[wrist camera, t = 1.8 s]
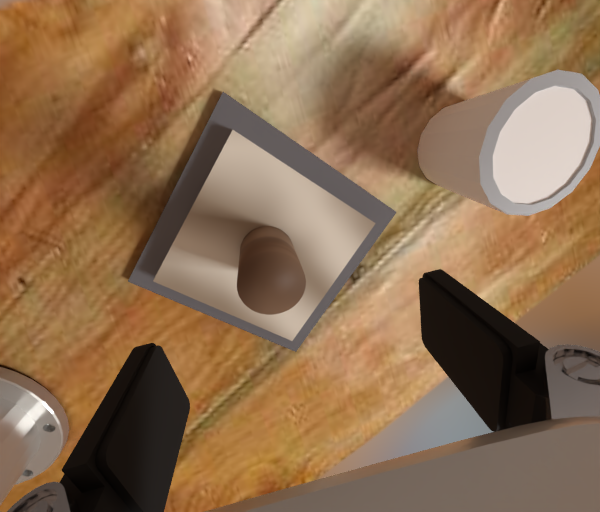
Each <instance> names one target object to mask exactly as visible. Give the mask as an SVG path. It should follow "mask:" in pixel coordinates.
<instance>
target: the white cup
mask: <svg viewBox="0 0 600 512" xmlns="http://www.w3.org/2000/svg"><path fill="white" fill-rule="evenodd" d="M599 146H600V95H599V92H598V89H597V88H596V87H595V86H594V85H593V84H591V83H590V82H589V81H588V80H587V79H586V78H585V77H584V76H583V75H582V74H579V73H574V72H568V71H562V70H556V71H553V72H550V73H547V74H544V75H541V76H538V77H535V78H532V79H529V80H526V81H523V82H520V83H517V84H514V85H511V86H508V87H505V88H502V89H499V90H496V91H493V92H490V93H487V94H484V95H481V96H478V97H475V98H472V99H469V100H466V101H463V102H460V103H457V104H454V105H451V106H448V107H445V108H443V109H441V110H440V111H439V112H438V113H437V114H436V115H434V116H433V117H432V118H431V119H430V120H429V122H428V124H427V125H426V127H425V129H424V130H423V132H422V134H421V137H420V141H419V146H418V150H417V153H418V161H419V167H420V169H421V170H422V172H423V174H424V175H425V177H426V179H428V180H430V181H431V182H433V183H434V184H436V185H438V186H440V187H443V188H445V189H448V190H450V191H452V192H455V193H457V194H460V195H462V196H464V197H467V198H469V199H472V200H474V201H476V202H479V203H481V204H484V205H486V206H488V207H491V208H493V209H496V210H498V211H501V212H503V213H505V214H510V215H526V216H529V215H532V214H534V213H537V212H540V211H543V210H546V209H549V208H551V207H552V206H554V205H555V204H556V203H558V202H559V201H560V200H562V199H563V198H564V197H566V196H567V195H568V194H570V193H571V192H572V191H573V190H574V189H575V187H576V186H577V185H578V183H579V182H580V181H581V179H582V178H583V177H584V176H585V174H586V173H587V172H588V170H589V169H590V167H591V165H592V163H593V160H594V158H595V156H596V153H597V151H598V149H599Z"/></svg>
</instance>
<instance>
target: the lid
mask: <svg viewBox="0 0 600 512" xmlns="http://www.w3.org/2000/svg"><path fill="white" fill-rule="evenodd" d="M375 224H376V223H374V222H373V221H371V220H370V219H368V218H367V217H365V216H364V215H362V214H361V213H359V212H358V211H356V210H354V209H353V208H351V207H350V206H348V205H347V204H345V203H344V202H342V201H341V200H339V199H338V198H336V197H335V196H333V195H332V194H330V193H329V192H327V191H326V190H324V189H322V188H321V187H319V186H318V185H316V184H315V183H313V182H312V181H310V180H309V179H307V178H306V177H304V176H303V175H301V174H300V173H298V172H297V171H295V170H294V169H292V168H291V167H289V166H287V165H286V164H284V163H283V162H281V161H280V160H278V159H277V158H275V157H274V156H272V155H271V154H269V153H268V152H266V151H265V150H263V149H262V148H260V147H259V146H257V145H255V144H254V143H252V142H251V141H249V140H248V139H246V138H245V137H243V136H242V135H240V134H239V133H237V132H236V131H234V130H232V132H231V134H230V136H229V138H228V140H227V141H226V143H225V145H224V147H223V149H222V151H221V153H220V155H219V157H218V159H217V160H216V162H215V164H214V166H213V168H212V170H211V172H210V174H209V176H208V178H207V179H206V181H205V183H204V185H203V187H202V189H201V191H200V193H199V195H198V197H197V198H196V200H195V202H194V204H193V206H192V208H191V210H190V212H189V214H188V216H187V217H186V219H185V221H184V223H183V225H182V227H181V229H180V231H179V233H178V235H177V236H176V238H175V240H174V242H173V244H172V246H171V248H170V250H169V252H168V254H167V255H166V257H165V259H164V261H163V263H162V265H161V267H160V269H159V271H158V273H157V274H156V276H155V278H154V280H153V281H154V282H156V283H158V284H161V285H163V286H165V287H168V288H170V289H172V290H175V291H177V292H179V293H182V294H184V295H186V296H188V297H191V298H193V299H195V300H198V301H200V302H202V303H205V304H207V305H209V306H212V307H214V308H216V309H219V310H221V311H223V312H226V313H228V314H230V315H233V316H235V317H237V318H240V319H242V320H244V321H247V322H249V323H251V324H254V325H256V326H258V327H261V328H263V329H265V330H268V331H270V332H272V333H274V334H277V335H279V336H281V337H284V338H286V339H288V340H291V341H293V339H294V338H295V337H296V335H297V334H298V332H299V331H300V330H301V328H302V327H303V325H304V324H305V322H306V321H307V320H308V318H309V317H310V315H311V314H312V313H313V311H314V310H315V308H316V307H317V306H318V304H319V303H320V301H321V300H322V298H323V297H324V296H325V294H326V293H327V291H328V290H329V289H330V287H331V286H332V284H333V283H334V282H335V280H336V279H337V277H338V276H339V274H340V273H341V272H342V270H343V269H344V267H345V266H346V265H347V263H348V262H349V260H350V259H351V258H352V256H353V255H354V253H355V252H356V250H357V249H358V248H359V246H360V245H361V243H362V242H363V241H364V239H365V238H366V236H367V235H368V234H369V232H370V231H371V229H372V228H373V226H374V225H375Z"/></svg>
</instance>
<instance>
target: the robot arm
mask: <svg viewBox="0 0 600 512" xmlns="http://www.w3.org/2000/svg"><path fill="white" fill-rule="evenodd" d="M419 294H420V313H421V332H422V340H423V343H424V345H425V347H426V348H427V350H428V351H429V352H430V354H431V355H432V356H433V357H434V359H435V360H436V361H437V362H438V364H439V365H440V366H441V368H442V369H443V370H444V371H445V373H446V374H447V375H448V376H449V378H450V379H451V380H452V382H453V383H454V384H455V385H456V387H457V388H458V389H459V390H460V392H461V393H462V394H463V395H464V397H465V398H466V399H467V401H468V402H469V403H470V404H471V405H472V407H473V408H474V409H475V411H476V412H477V413H478V415H479V416H480V417H481V418H482V419H483V421H484V422H485V424H486V425H487V426H488V427H489V428H490V429H491V430H492V431H494V432H492V433H488V434H484V435H481V436H476V437H473V438H469V439H465V440H461V441H457V442H453V443H450V444H446V445H443V446H439V447H435V448H431V449H428V450H424V451H420V452H417V453H413V454H410V455H406V456H402V457H398V458H395V459H391V460H387V461H384V462H380V463H376V464H373V465H369V466H365V467H362V468H358V469H355V470H351V471H348V472H344V473H340V474H337V475H333V476H330V477H326V478H322V479H319V480H315V481H311V482H308V483H304V484H301V485H297V486H294V487H290V488H286V489H283V490H279V491H276V492H272V493H269V494H265V495H261V496H258V497H254V498H251V499H247V500H244V501H240V502H237V503H233V504H230V505H226V506H223V507H219V508H216V509H212V510H209V511H205V512H600V352H598V351H596V350H593V349H590V348H586V347H582V346H577V345H557V346H555V347H552V348H550V349H547V348H546V347H545V346H543V345H542V344H541V343H540V341H538V340H537V339H535V338H534V337H533V336H532V335H530V334H528V333H527V332H526V331H525V330H523V329H522V328H521V327H519V326H518V325H517V324H515V323H514V322H512V321H511V320H510V319H508V318H507V317H506V316H504V315H503V314H502V313H500V312H499V311H497V310H496V309H495V308H493V307H492V306H491V305H489V304H488V303H487V302H485V301H484V300H482V299H481V298H480V297H478V296H477V295H476V294H474V293H473V292H472V291H470V290H469V289H467V288H466V287H465V286H463V285H462V284H461V283H459V282H458V281H457V280H455V279H454V278H453V277H451V276H450V275H448V274H447V273H446V272H444V271H443V270H441V269H439V270H435V271H431V272H427V273H424V274H423V278H420V279H419ZM189 410H190V403H189V399H188V397H187V395H186V393H185V391H184V389H183V388H182V386H181V384H180V382H179V380H178V378H177V376H176V374H175V372H174V370H173V368H172V366H171V364H170V362H169V361H168V359H167V357H166V355H165V353H164V351H163V349H162V347H161V346H156V345H155V344H154V343H150V344H146V345H142V346H138V347H135V348H134V349H133V350H132V352H131V353H130V355H129V357H128V359H127V360H126V362H125V364H124V365H123V367H122V369H121V370H120V372H119V374H118V375H117V377H116V379H115V381H114V382H113V384H112V386H111V387H110V389H109V391H108V392H107V394H106V396H105V397H104V399H103V401H102V403H101V404H100V406H99V408H98V409H97V411H96V413H95V414H94V416H93V418H92V419H91V421H90V423H89V425H88V426H87V428H86V430H85V431H84V433H83V435H82V436H81V438H80V440H79V441H78V443H77V445H76V447H75V448H74V450H73V452H72V453H71V455H70V457H69V458H68V460H67V462H66V463H65V465H64V467H63V469H62V471H63V472H64V476H63V478H62V479H61V481H60V483H58V482H51V483H46V484H44V485H42V486H40V487H37V488H35V489H34V490H32V491H31V492H29V493H28V494H26V495H25V496H24V497H22V498H21V499H20V500H19V501H18V502H17V503H15V504H14V505H13V506H12V507H11V508H10V509H9V510H8V511H7V512H164V509H165V505H166V501H167V497H168V493H169V489H170V485H171V481H172V477H173V473H174V469H175V465H176V461H177V457H178V453H179V450H180V446H181V442H182V438H183V434H184V430H185V426H186V422H187V418H188V414H189ZM68 433H69V425H68V419H67V416H66V414H65V411H64V409H63V407H62V406H61V405H60V403H59V402H58V401H57V399H56V398H55V397H54V396H53V395H52V394H51V393H50V392H49V391H48V390H47V389H46V388H44V387H43V386H41V385H40V384H38V383H37V382H35V381H34V380H32V379H30V378H28V377H26V376H24V375H22V374H20V373H17V372H15V371H12V370H9V369H6V368H3V367H0V505H1V503H2V502H3V501H4V499H5V498H6V496H7V495H8V493H9V492H10V490H11V489H12V488H13V486H14V485H15V484H19V483H21V482H24V481H26V480H29V479H32V478H34V477H35V476H37V475H39V474H40V473H42V472H44V471H45V470H46V469H47V468H48V467H50V466H51V465H52V464H53V463H54V461H55V460H56V458H57V457H58V456H59V454H60V452H61V451H62V449H63V447H64V445H65V444H66V442H67V439H68Z"/></svg>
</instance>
